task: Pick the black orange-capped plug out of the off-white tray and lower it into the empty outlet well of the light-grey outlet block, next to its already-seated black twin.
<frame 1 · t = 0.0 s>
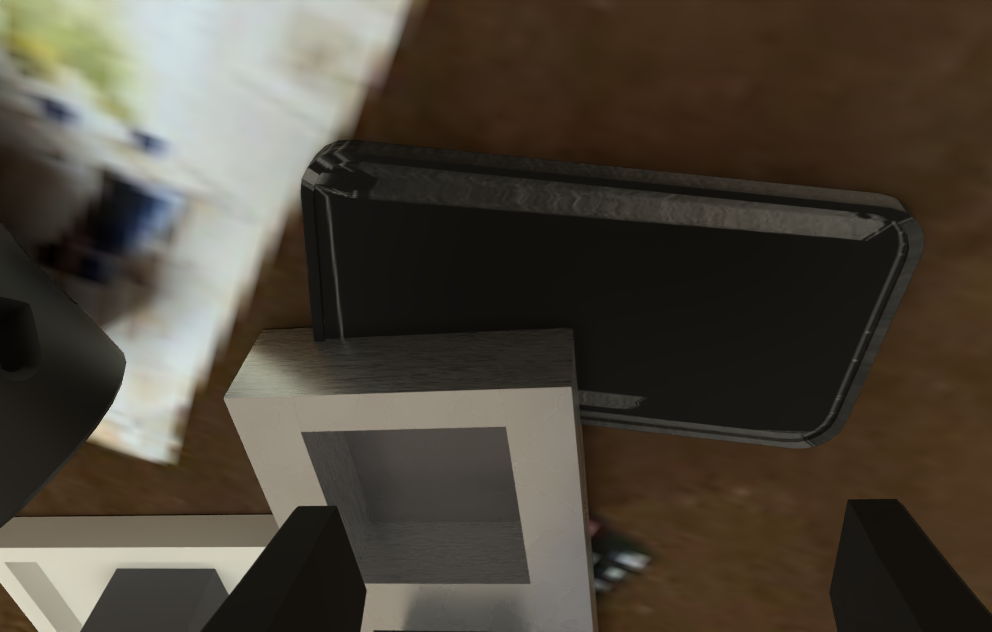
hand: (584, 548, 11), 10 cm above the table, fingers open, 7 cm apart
outlet block: (460, 531, 27), on the table
tray: (192, 599, 31), on the table
phone: (590, 289, 21), on the table
plug: (188, 608, 31), resting on tray
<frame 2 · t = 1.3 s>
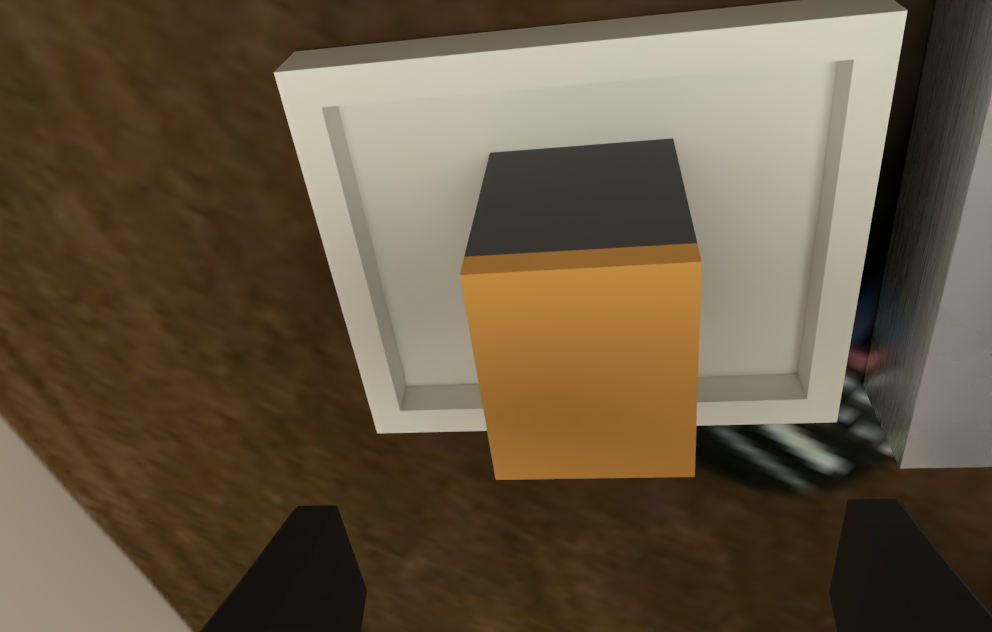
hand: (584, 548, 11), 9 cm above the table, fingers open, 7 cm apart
tray: (586, 236, 19), on the table
plug: (586, 244, 18), resting on tray
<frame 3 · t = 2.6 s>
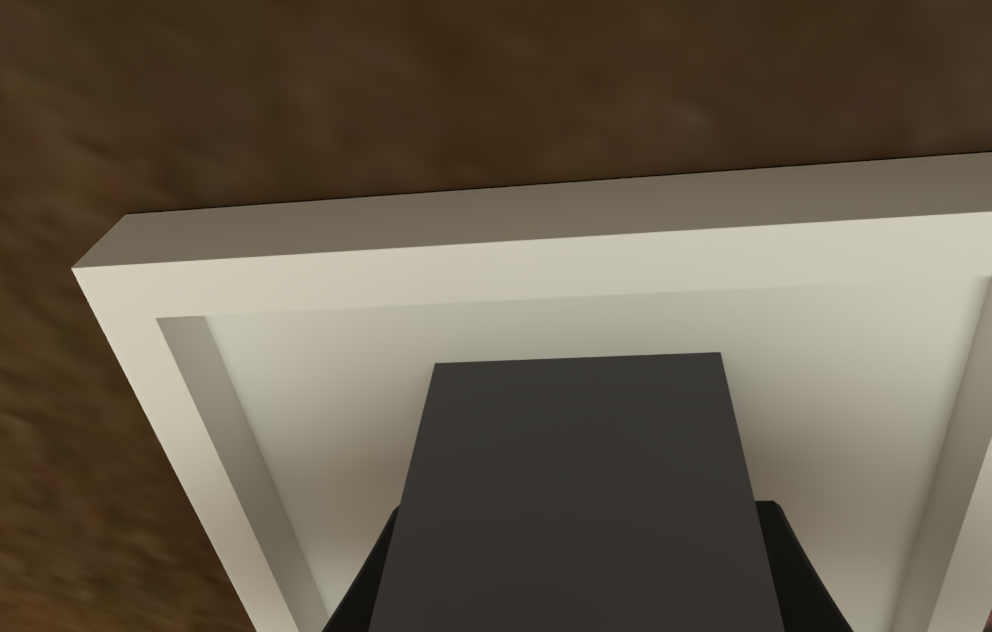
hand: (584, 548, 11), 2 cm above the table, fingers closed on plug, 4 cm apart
tray: (584, 462, 13), on the table
plug: (584, 480, 12), resting on tray, touching gripper
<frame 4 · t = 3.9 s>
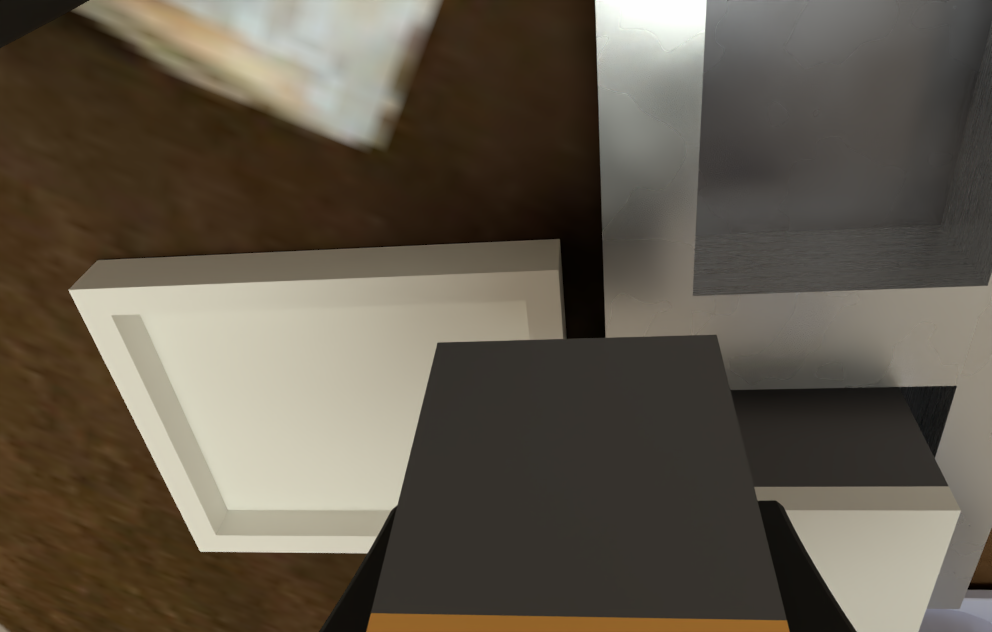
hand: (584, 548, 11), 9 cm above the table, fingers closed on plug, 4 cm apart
outlet block: (795, 265, 18), on the table
tray: (360, 400, 22), on the table
twin plug: (780, 422, 20), point 1 cm above the table, touching outlet block
plug: (580, 462, 13), point 7 cm above the table, touching gripper
when the fingers open (3 cm above the table, at t = 5.5 s): plug drops 1 cm, resting on outlet block.
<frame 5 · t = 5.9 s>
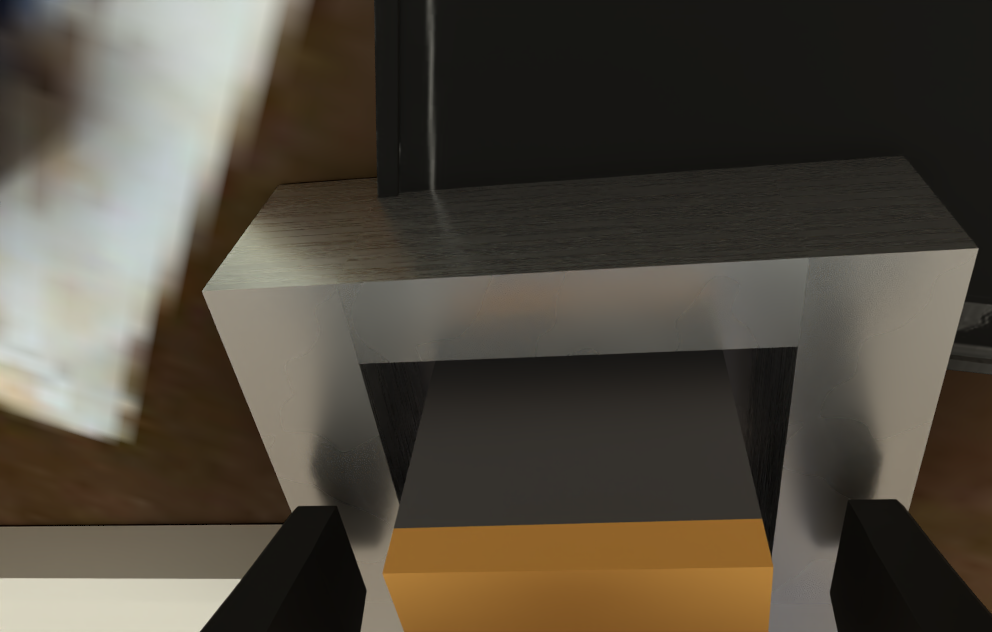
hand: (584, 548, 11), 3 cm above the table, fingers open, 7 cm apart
outlet block: (596, 553, 17), on the table
phone: (918, 92, 11), on the table
plug: (588, 412, 13), point 1 cm above the table, touching outlet block
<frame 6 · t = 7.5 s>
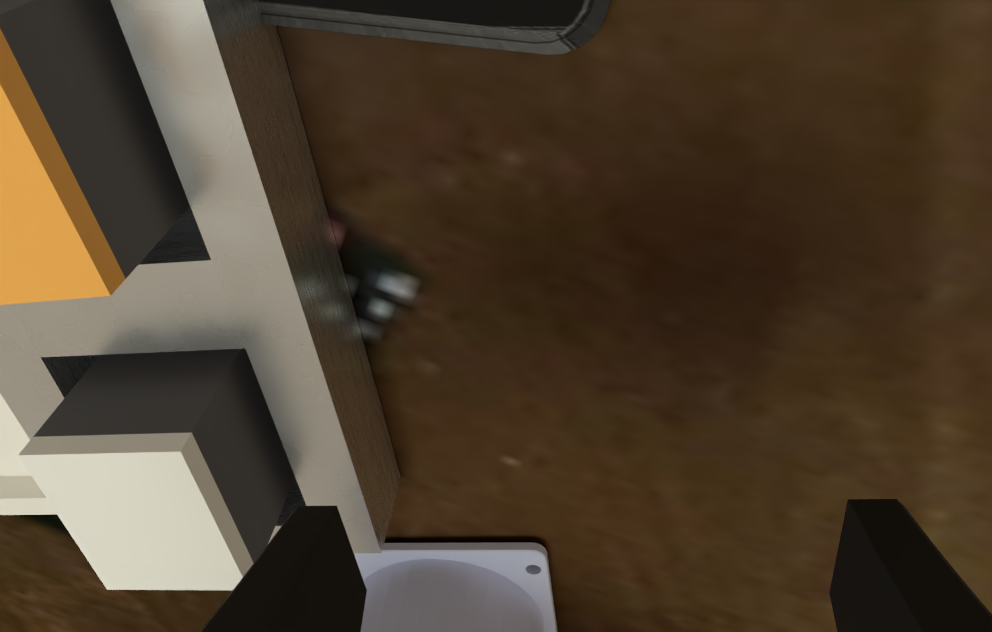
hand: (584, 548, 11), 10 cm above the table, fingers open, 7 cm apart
outlet block: (174, 247, 21), on the table
twin plug: (220, 389, 23), point 1 cm above the table, touching outlet block
plug: (95, 88, 18), point 1 cm above the table, touching outlet block
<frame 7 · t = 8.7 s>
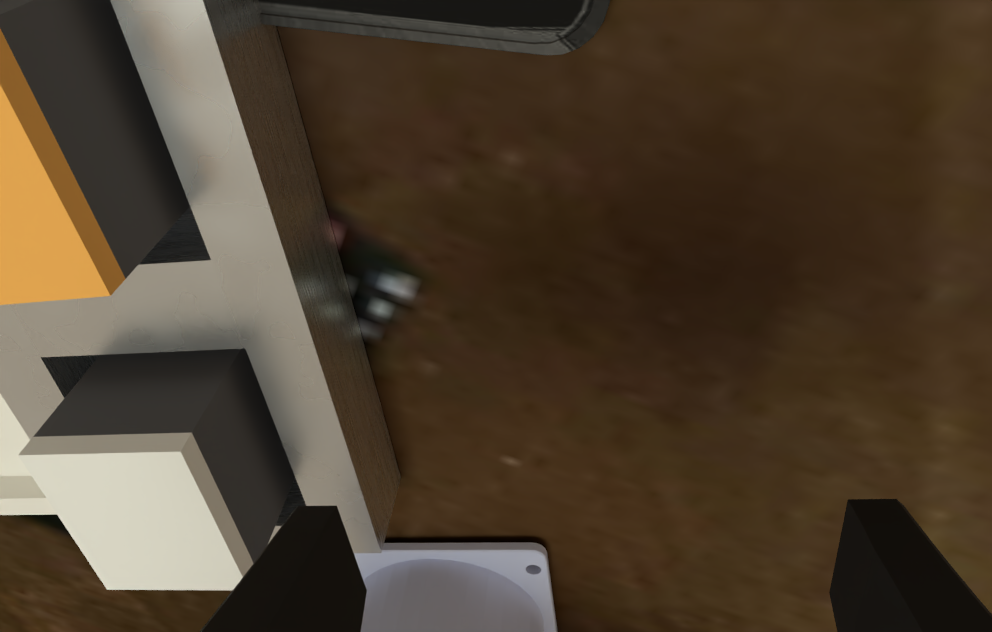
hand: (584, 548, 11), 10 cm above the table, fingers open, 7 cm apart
outlet block: (174, 247, 21), on the table
twin plug: (220, 389, 23), point 1 cm above the table, touching outlet block
plug: (94, 88, 18), point 1 cm above the table, touching outlet block
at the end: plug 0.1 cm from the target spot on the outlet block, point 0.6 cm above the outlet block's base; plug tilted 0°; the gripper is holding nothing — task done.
